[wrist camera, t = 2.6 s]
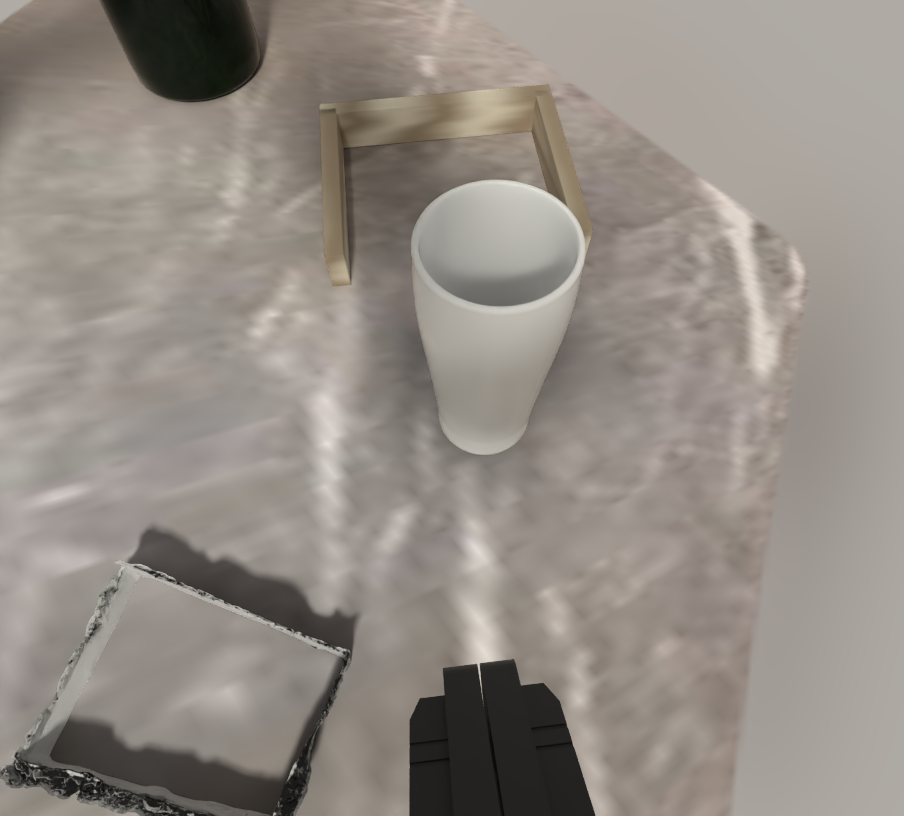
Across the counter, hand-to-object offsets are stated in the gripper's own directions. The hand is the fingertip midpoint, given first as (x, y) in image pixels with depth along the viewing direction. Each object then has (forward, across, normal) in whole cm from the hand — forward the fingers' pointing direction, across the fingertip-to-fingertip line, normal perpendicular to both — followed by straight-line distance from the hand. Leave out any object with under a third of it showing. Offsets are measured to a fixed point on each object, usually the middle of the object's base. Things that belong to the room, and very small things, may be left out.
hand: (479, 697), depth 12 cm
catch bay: (+37, -2, -12) cm, 39 cm away
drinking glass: (+24, -3, +2) cm, 24 cm away
